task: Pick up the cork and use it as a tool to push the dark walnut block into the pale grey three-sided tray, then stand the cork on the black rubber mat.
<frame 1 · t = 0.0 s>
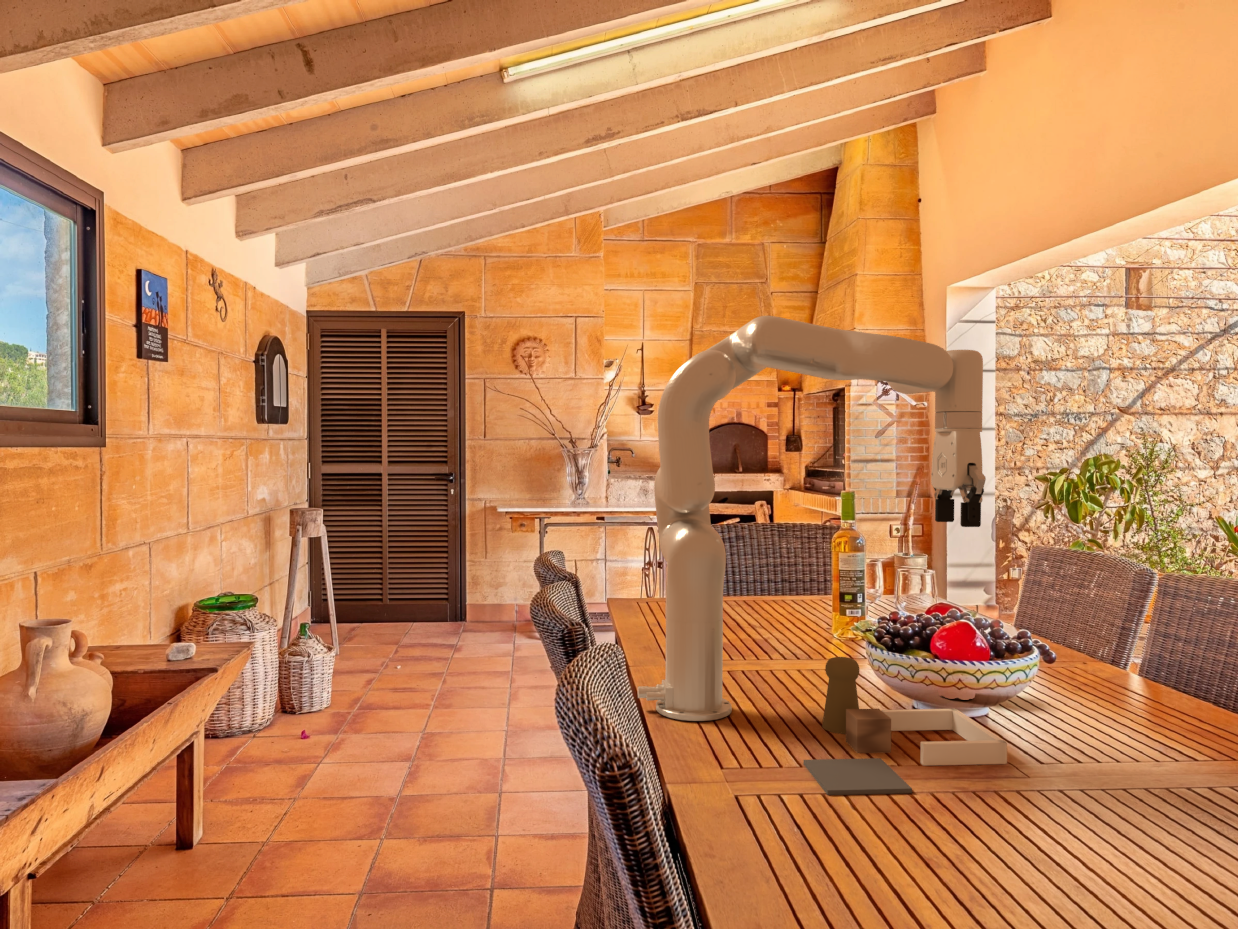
hand: (957, 524, 150), 31 cm above the table, fingers open, 9 cm apart
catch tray: (937, 745, 131), on the table
walnut block: (867, 747, 130), on the table
cork: (841, 729, 139), on the table
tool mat: (855, 778, 118), on the table
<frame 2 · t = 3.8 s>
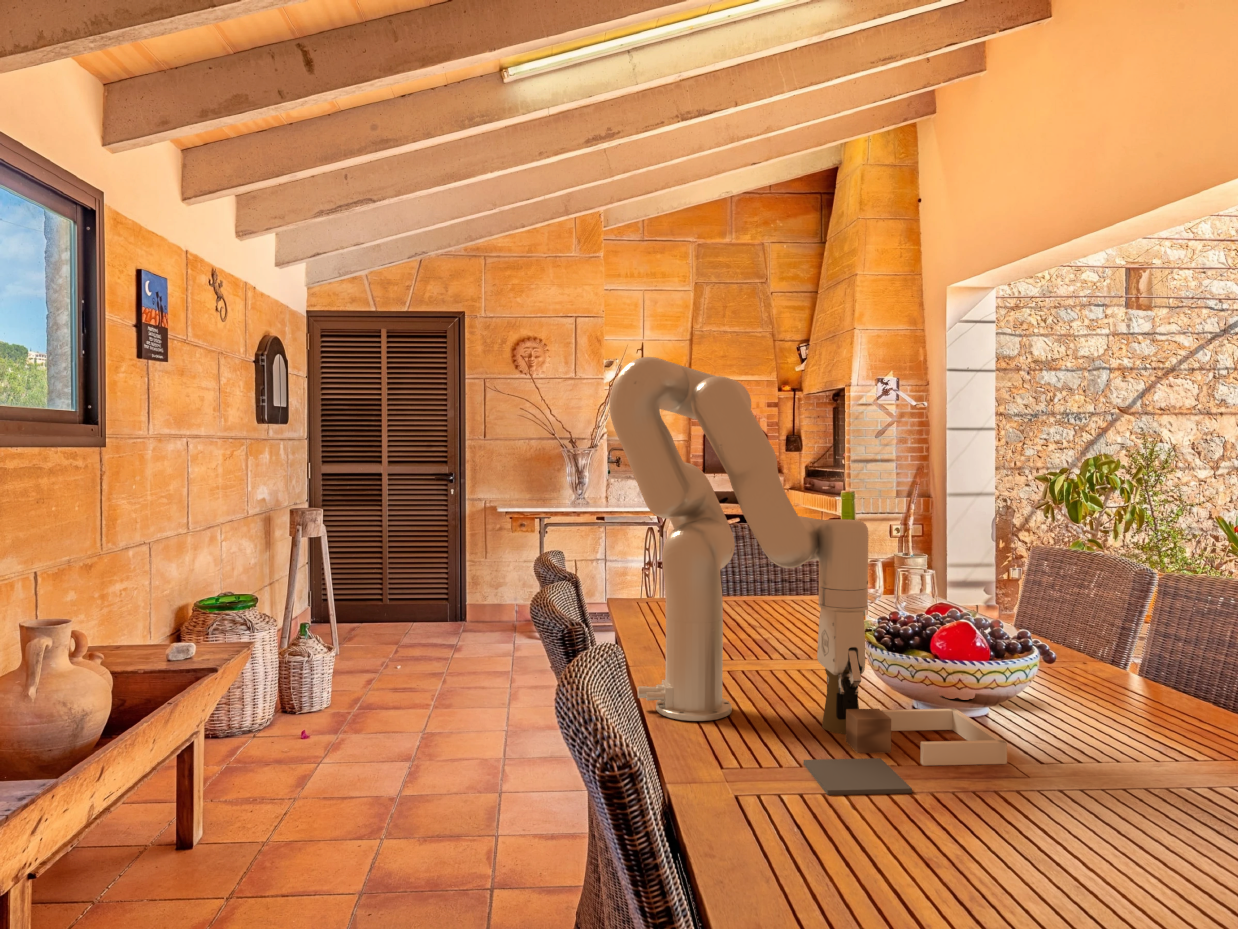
hand: (841, 713, 139), 2 cm above the table, fingers closed on cork, 4 cm apart
cork: (841, 728, 139), on the table, touching gripper
everything else where it was.
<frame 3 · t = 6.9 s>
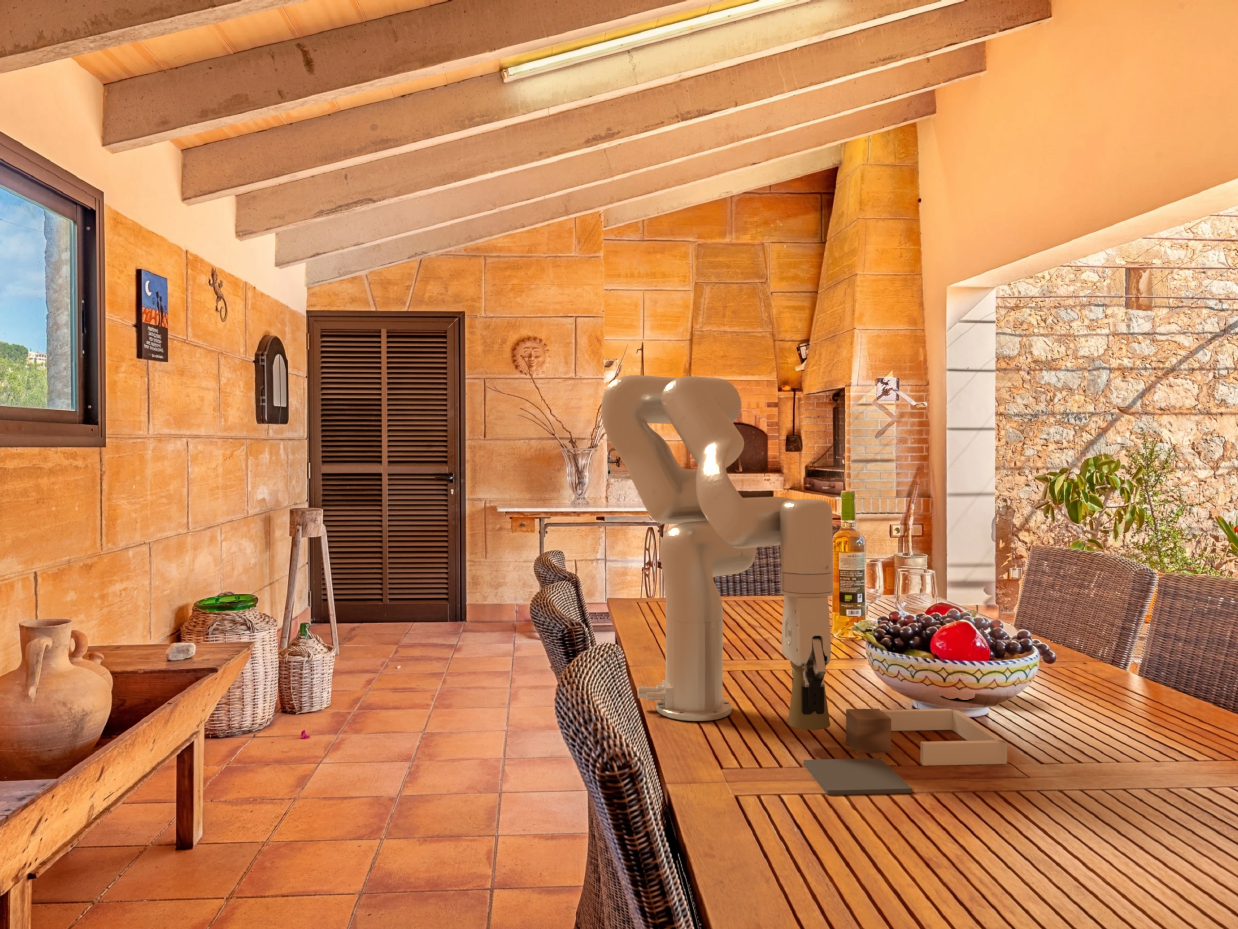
hand: (808, 708, 129), 6 cm above the table, fingers closed on cork, 4 cm apart
cork: (808, 725, 129), point 4 cm above the table, touching gripper
everything else where it was.
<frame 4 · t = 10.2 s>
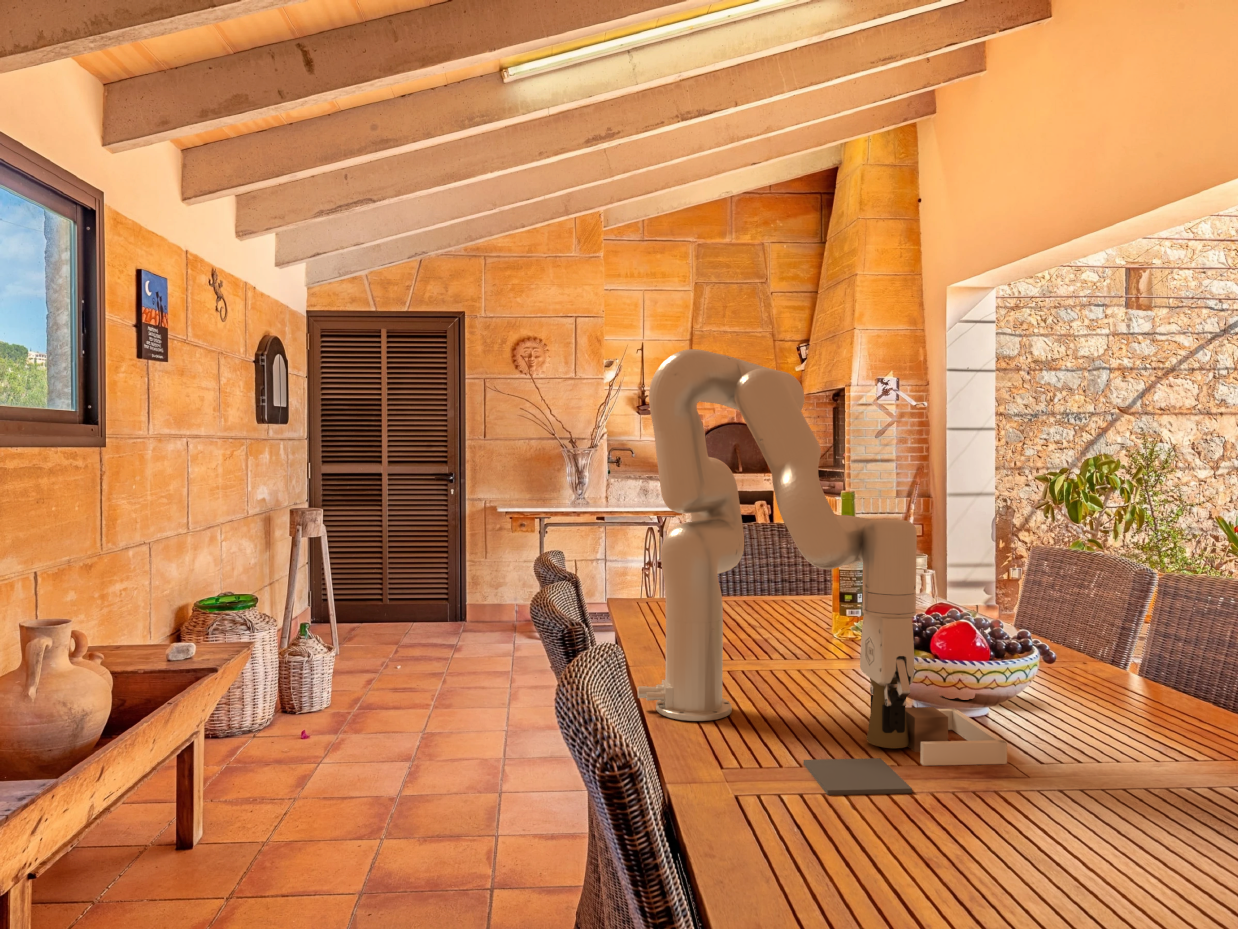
hand: (887, 725, 130), 3 cm above the table, fingers closed on cork, 4 cm apart
walnut block: (923, 745, 131), on the table
cork: (887, 742, 130), point 1 cm above the table, touching gripper
everything else where it was.
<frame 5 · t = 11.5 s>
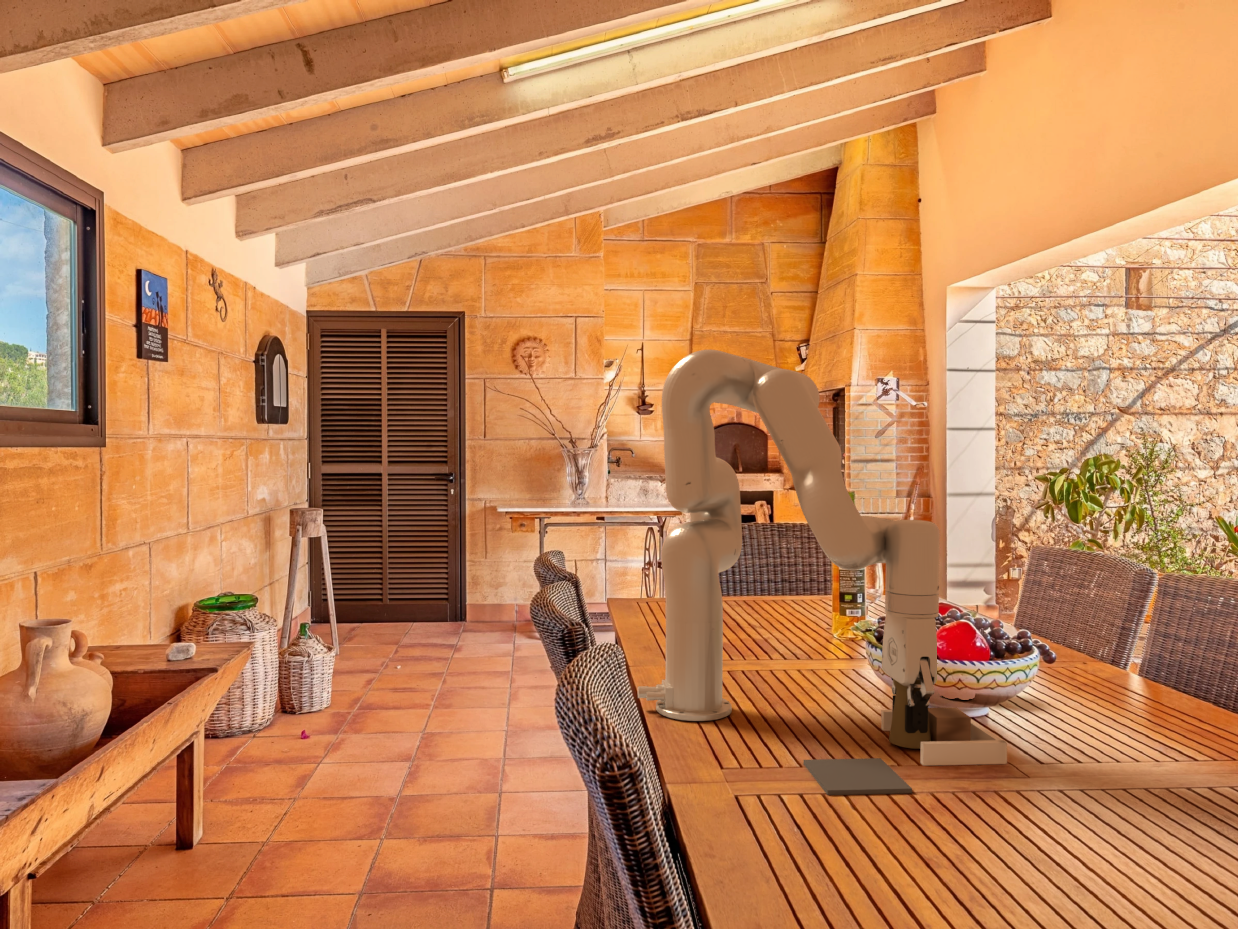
hand: (909, 725, 131), 3 cm above the table, fingers closed on cork, 4 cm apart
walnut block: (946, 746, 131), on the table
cork: (910, 742, 131), on the table, touching gripper
everything else where it was.
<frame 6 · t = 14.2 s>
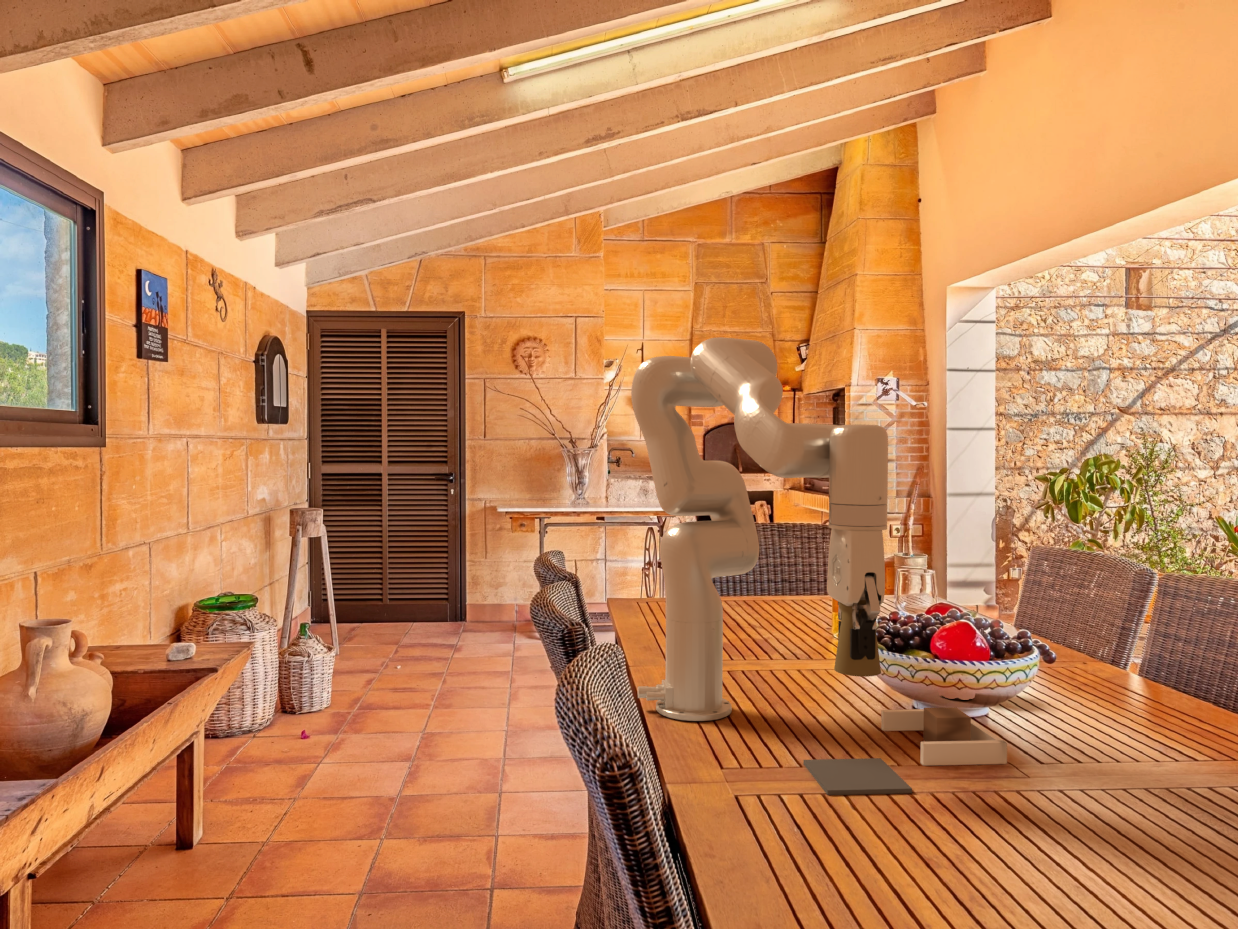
hand: (856, 653, 117), 17 cm above the table, fingers closed on cork, 4 cm apart
cork: (857, 672, 118), point 14 cm above the table, touching gripper
everything else where it was.
when the fingers open (4 cm above the table, at t = 16.7 s): cork drops 1 cm, resting on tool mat.
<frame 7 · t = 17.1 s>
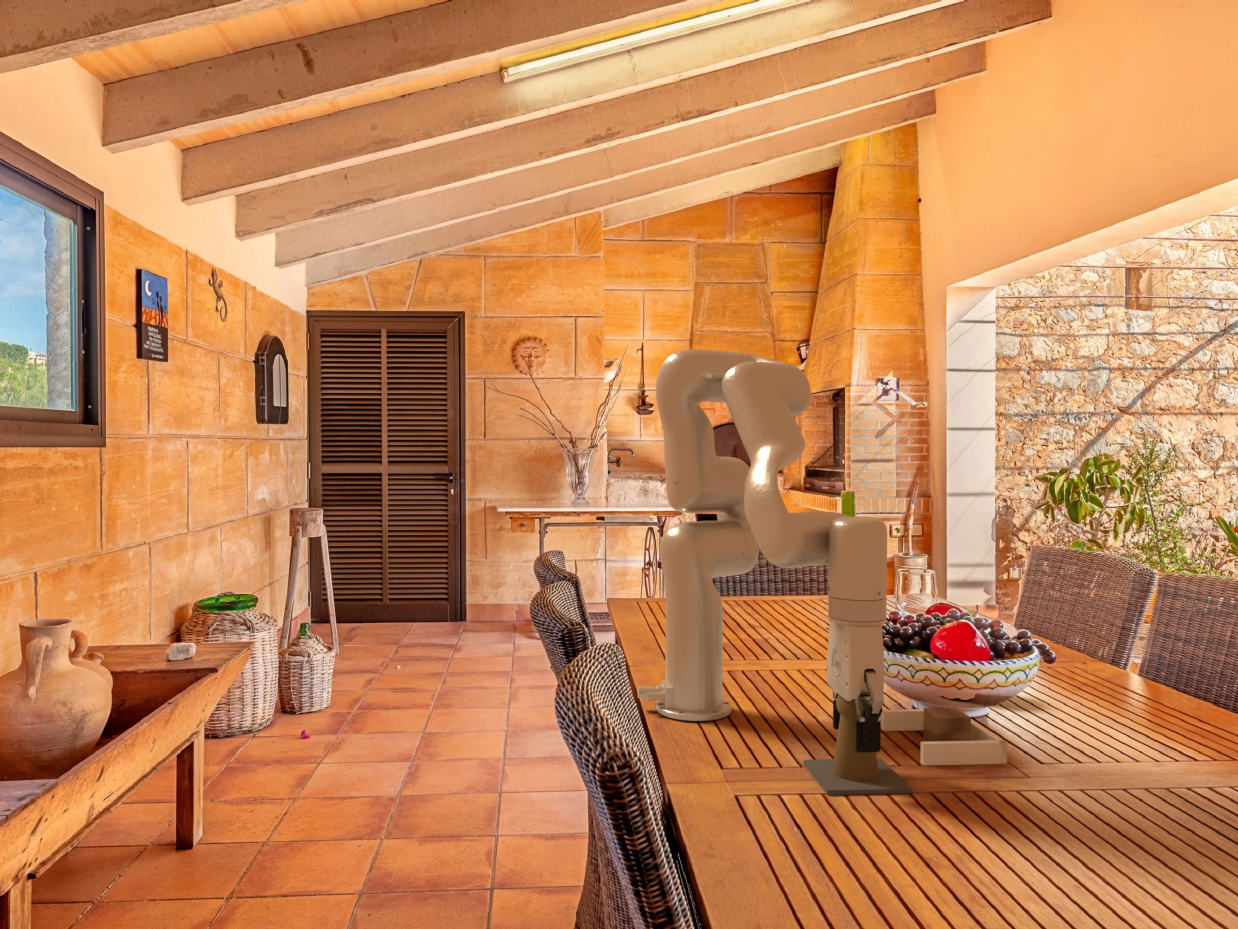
hand: (855, 739, 118), 5 cm above the table, fingers open, 8 cm apart
cork: (855, 774, 118), resting on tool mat
everything else where it was.
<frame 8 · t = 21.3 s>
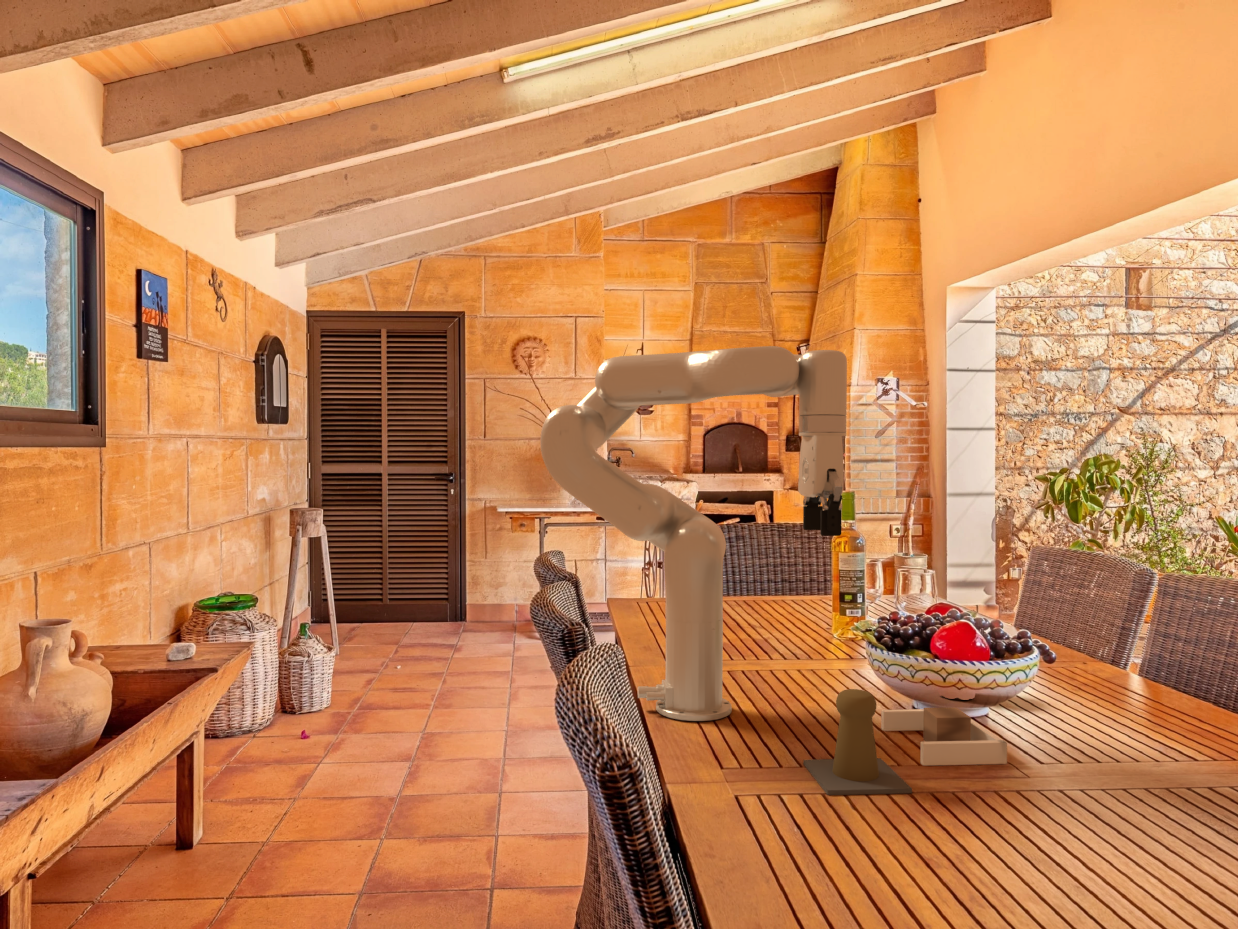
hand: (821, 532, 143), 30 cm above the table, fingers open, 9 cm apart
nothing on the table moved.
at the end: walnut block inside the target area on the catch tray (0.9 cm from its centre), point 0.0 cm above the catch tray's base; cork 0.2 cm from the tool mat (horizontally); cork tilted 0° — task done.
